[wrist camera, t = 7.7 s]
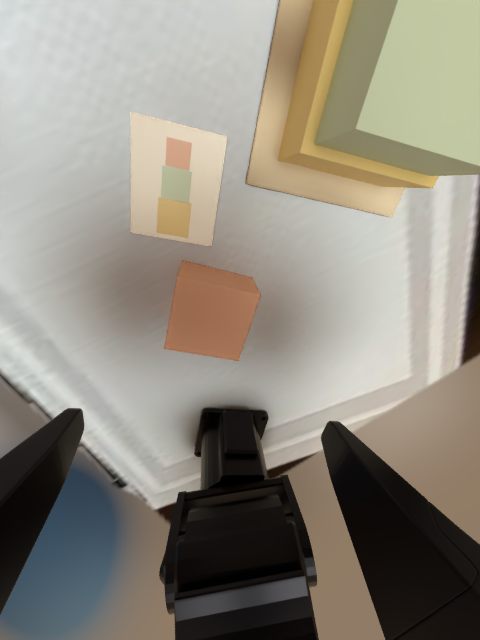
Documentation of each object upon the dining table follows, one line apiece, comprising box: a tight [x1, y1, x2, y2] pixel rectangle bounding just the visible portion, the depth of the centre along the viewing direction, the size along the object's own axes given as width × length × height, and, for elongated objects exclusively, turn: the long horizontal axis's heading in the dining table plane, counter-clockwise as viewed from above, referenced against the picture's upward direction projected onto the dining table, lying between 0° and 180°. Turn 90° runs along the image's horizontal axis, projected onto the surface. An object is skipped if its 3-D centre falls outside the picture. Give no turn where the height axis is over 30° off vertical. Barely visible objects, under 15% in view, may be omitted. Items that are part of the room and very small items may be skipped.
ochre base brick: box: [278, 0, 439, 188], centre depth 12 cm, size 7×7×4 cm
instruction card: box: [130, 111, 227, 247], centre depth 15 cm, size 6×5×1 cm
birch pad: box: [246, 0, 405, 217], centre depth 14 cm, size 10×10×1 cm
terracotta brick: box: [164, 261, 261, 361], centre depth 17 cm, size 5×5×4 cm
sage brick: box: [314, 0, 480, 176], centre depth 9 cm, size 6×6×4 cm
